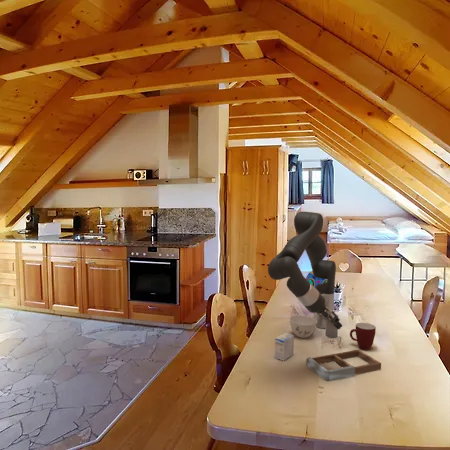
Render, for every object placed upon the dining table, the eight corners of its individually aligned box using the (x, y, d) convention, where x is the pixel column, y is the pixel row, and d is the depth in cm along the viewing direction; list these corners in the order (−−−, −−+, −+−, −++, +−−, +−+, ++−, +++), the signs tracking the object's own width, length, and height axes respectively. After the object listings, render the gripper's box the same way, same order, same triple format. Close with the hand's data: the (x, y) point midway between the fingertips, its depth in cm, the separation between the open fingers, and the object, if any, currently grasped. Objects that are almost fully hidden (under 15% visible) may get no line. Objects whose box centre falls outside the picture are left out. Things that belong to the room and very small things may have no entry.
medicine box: (284, 352, 163) (284, 332, 162) (293, 355, 160) (294, 334, 159) (274, 358, 157) (274, 338, 156) (284, 361, 154) (284, 340, 153)
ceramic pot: (303, 298, 239) (304, 274, 238) (306, 290, 256) (306, 268, 254) (332, 300, 234) (333, 276, 232) (333, 292, 251) (334, 270, 249)
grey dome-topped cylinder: (323, 334, 147) (323, 314, 146) (332, 333, 149) (333, 313, 148) (330, 339, 143) (331, 318, 142) (339, 337, 145) (340, 316, 144)
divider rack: (305, 365, 151) (306, 356, 151) (358, 355, 160) (358, 347, 160) (326, 381, 138) (327, 372, 138) (382, 370, 147) (382, 361, 147)
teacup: (312, 343, 172) (313, 326, 171) (285, 338, 177) (286, 321, 177) (320, 331, 185) (321, 315, 184) (295, 327, 191) (295, 311, 190)
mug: (347, 348, 166) (348, 326, 165) (350, 342, 173) (351, 320, 172) (373, 353, 161) (374, 330, 160) (375, 346, 169) (376, 324, 168)
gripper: (327, 294, 135) (354, 323, 140) (305, 284, 148) (330, 311, 153) (314, 311, 133) (342, 339, 139) (293, 299, 147) (319, 326, 152)
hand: (335, 324), depth 146 cm, fingers closed on grey dome-topped cylinder, 4 cm apart
